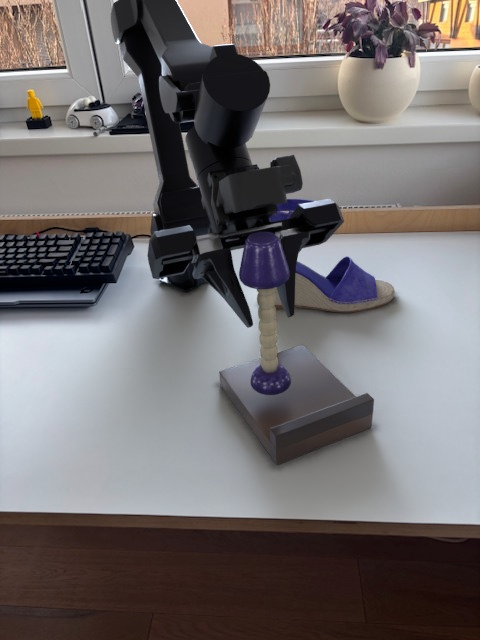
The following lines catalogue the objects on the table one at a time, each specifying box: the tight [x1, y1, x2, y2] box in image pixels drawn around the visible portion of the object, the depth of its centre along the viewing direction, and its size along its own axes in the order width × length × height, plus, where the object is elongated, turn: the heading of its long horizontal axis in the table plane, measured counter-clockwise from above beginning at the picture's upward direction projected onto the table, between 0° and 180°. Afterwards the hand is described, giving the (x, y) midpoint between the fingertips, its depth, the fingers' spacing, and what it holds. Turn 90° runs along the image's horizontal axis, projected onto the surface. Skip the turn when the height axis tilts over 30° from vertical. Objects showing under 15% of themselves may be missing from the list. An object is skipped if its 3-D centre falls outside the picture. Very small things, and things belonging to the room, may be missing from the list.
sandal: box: [270, 198, 395, 313], centre depth 74 cm, size 8×20×15 cm, turn 84°
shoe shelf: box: [218, 344, 375, 466], centre depth 58 cm, size 14×11×4 cm
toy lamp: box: [238, 232, 291, 395], centre depth 52 cm, size 5×5×17 cm
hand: (270, 321), depth 51 cm, fingers closed on toy lamp, 4 cm apart
